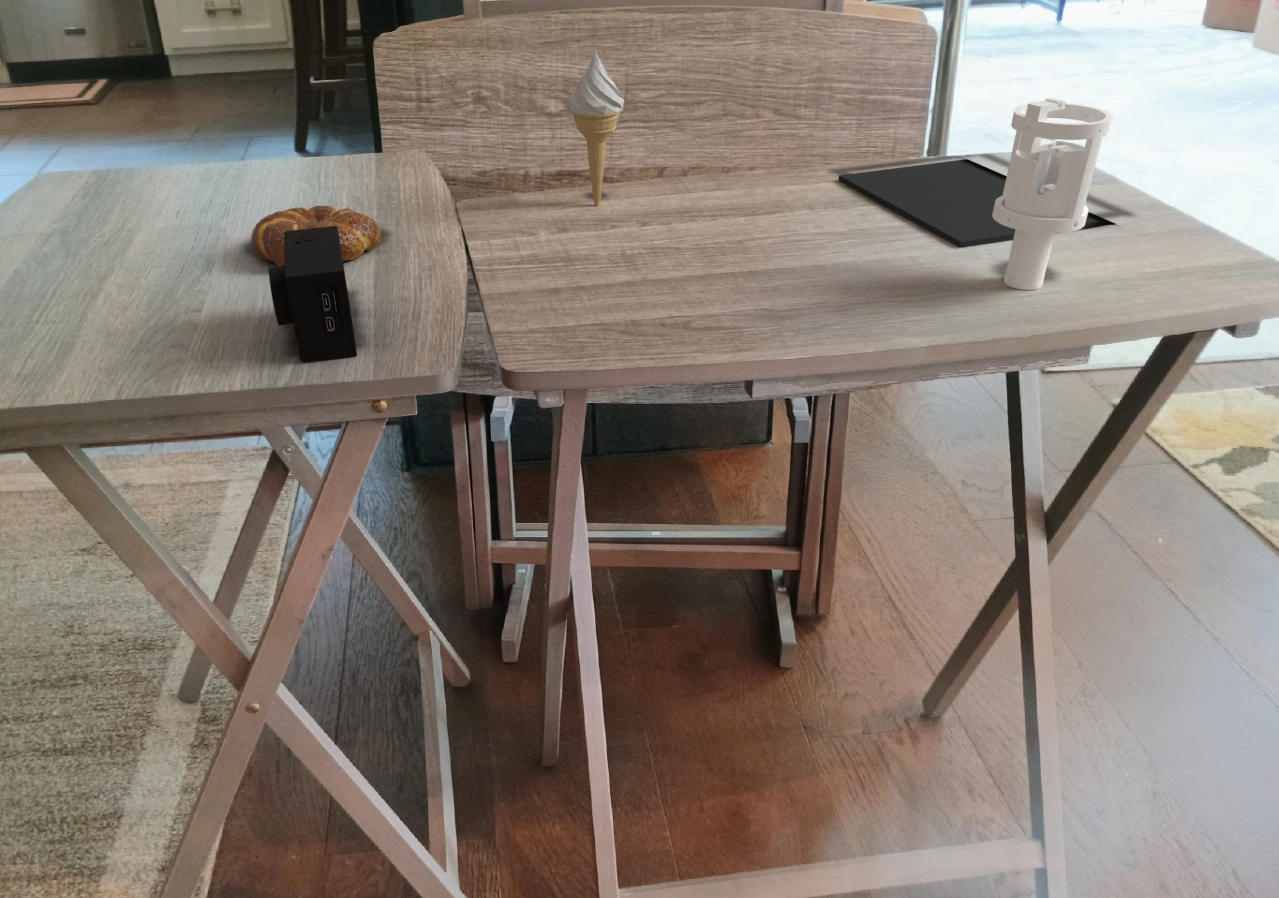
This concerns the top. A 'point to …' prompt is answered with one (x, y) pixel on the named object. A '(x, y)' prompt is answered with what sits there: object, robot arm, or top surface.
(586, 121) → the ice cream cone
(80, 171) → the top surface
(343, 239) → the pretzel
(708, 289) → the top surface
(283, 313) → the digital camera
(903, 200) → the mat
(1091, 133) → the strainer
